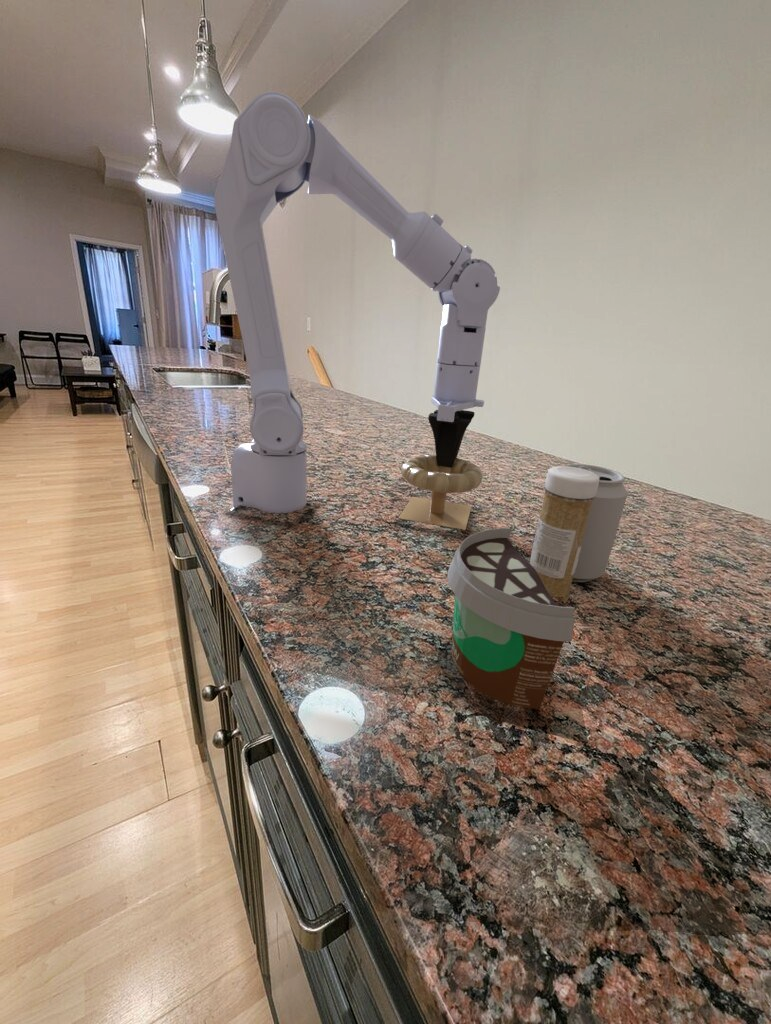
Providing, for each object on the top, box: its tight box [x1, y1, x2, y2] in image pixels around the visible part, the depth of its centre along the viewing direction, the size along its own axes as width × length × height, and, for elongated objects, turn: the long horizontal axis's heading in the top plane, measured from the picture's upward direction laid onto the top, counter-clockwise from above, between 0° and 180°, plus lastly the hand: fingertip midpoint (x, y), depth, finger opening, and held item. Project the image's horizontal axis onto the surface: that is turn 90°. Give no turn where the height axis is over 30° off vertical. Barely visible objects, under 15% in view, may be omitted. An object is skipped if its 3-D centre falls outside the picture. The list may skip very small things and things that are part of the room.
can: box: [564, 463, 629, 583], centre depth 50 cm, size 8×8×12 cm
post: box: [398, 491, 473, 531], centre depth 62 cm, size 9×9×6 cm
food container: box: [447, 527, 576, 710], centre depth 33 cm, size 12×6×10 cm, turn 5°
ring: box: [400, 454, 484, 494], centre depth 60 cm, size 11×11×2 cm
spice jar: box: [529, 465, 600, 605], centre depth 44 cm, size 5×5×13 cm
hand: (446, 463), depth 64 cm, fingers closed on ring, 2 cm apart
